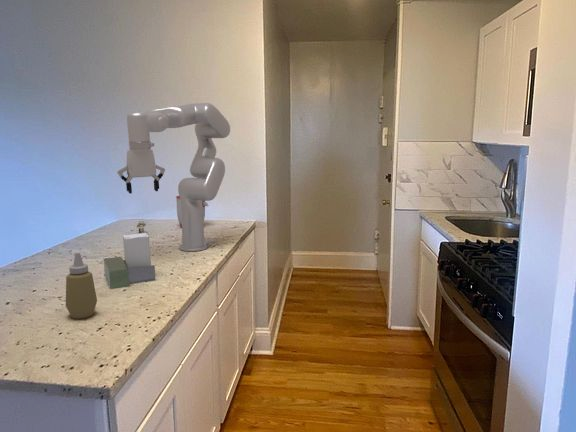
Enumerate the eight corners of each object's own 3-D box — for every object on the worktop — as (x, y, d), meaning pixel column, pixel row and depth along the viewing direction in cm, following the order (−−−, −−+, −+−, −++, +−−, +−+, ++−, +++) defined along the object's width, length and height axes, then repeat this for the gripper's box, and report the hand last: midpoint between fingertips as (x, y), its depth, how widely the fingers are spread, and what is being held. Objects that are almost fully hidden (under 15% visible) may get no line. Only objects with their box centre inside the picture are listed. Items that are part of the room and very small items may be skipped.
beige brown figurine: (154, 230, 238) (154, 218, 236) (152, 238, 220) (152, 225, 219) (131, 231, 235) (130, 219, 234) (127, 239, 218) (126, 226, 216)
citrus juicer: (206, 230, 238) (205, 192, 235) (173, 229, 239) (172, 192, 235) (211, 224, 254) (210, 189, 250) (180, 223, 254) (179, 189, 250)
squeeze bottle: (73, 310, 129) (68, 249, 126) (102, 309, 130) (97, 249, 127) (61, 321, 121) (56, 257, 118) (92, 320, 122) (87, 256, 119)
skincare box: (148, 271, 164) (147, 232, 161) (152, 276, 158) (150, 235, 156) (124, 274, 160) (122, 234, 157) (127, 279, 154) (124, 237, 152)
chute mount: (147, 269, 168) (146, 253, 167) (156, 282, 154) (156, 265, 153) (104, 274, 162) (103, 258, 161) (110, 288, 147) (109, 271, 146)
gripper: (160, 145, 173) (163, 188, 177) (113, 146, 165) (117, 192, 169) (165, 146, 167) (168, 191, 170) (117, 147, 159) (121, 195, 162)
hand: (143, 191), depth 170 cm, fingers open, 9 cm apart
